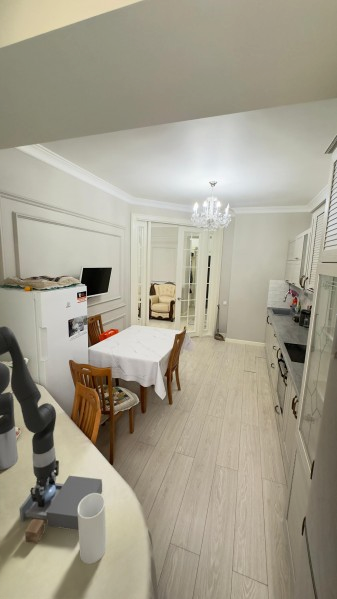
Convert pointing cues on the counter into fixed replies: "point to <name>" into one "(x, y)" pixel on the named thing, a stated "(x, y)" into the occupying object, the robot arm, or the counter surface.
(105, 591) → the counter surface
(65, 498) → the housing
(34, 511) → the tray
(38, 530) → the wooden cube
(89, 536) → the cup
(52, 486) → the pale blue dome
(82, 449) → the counter surface
